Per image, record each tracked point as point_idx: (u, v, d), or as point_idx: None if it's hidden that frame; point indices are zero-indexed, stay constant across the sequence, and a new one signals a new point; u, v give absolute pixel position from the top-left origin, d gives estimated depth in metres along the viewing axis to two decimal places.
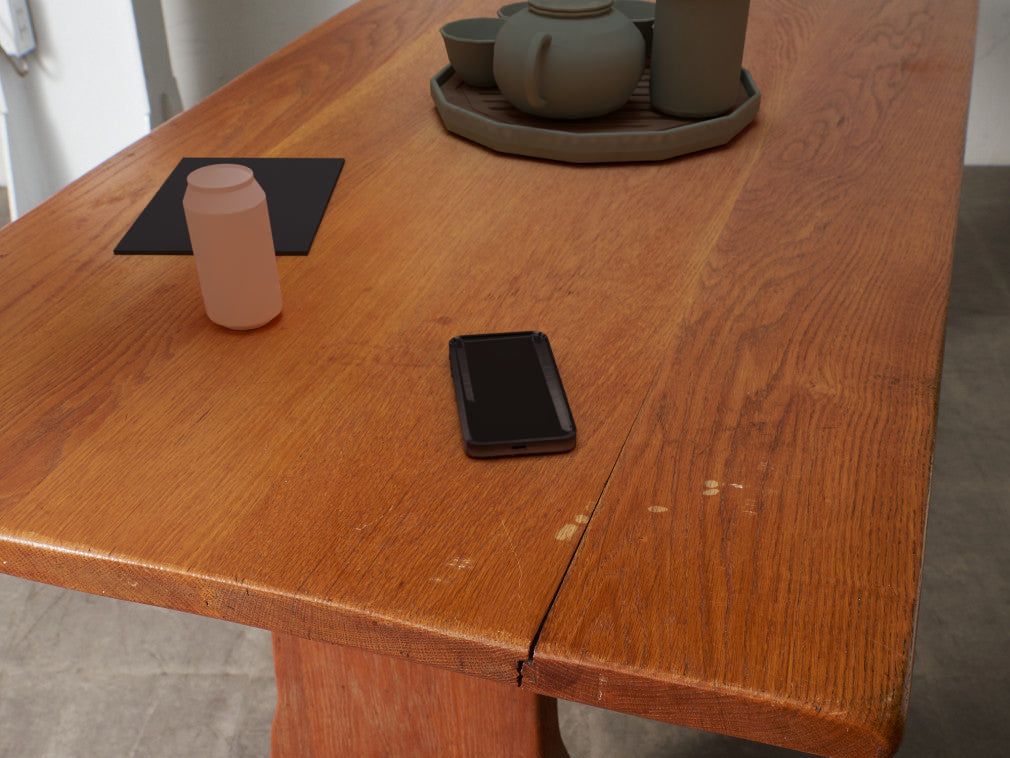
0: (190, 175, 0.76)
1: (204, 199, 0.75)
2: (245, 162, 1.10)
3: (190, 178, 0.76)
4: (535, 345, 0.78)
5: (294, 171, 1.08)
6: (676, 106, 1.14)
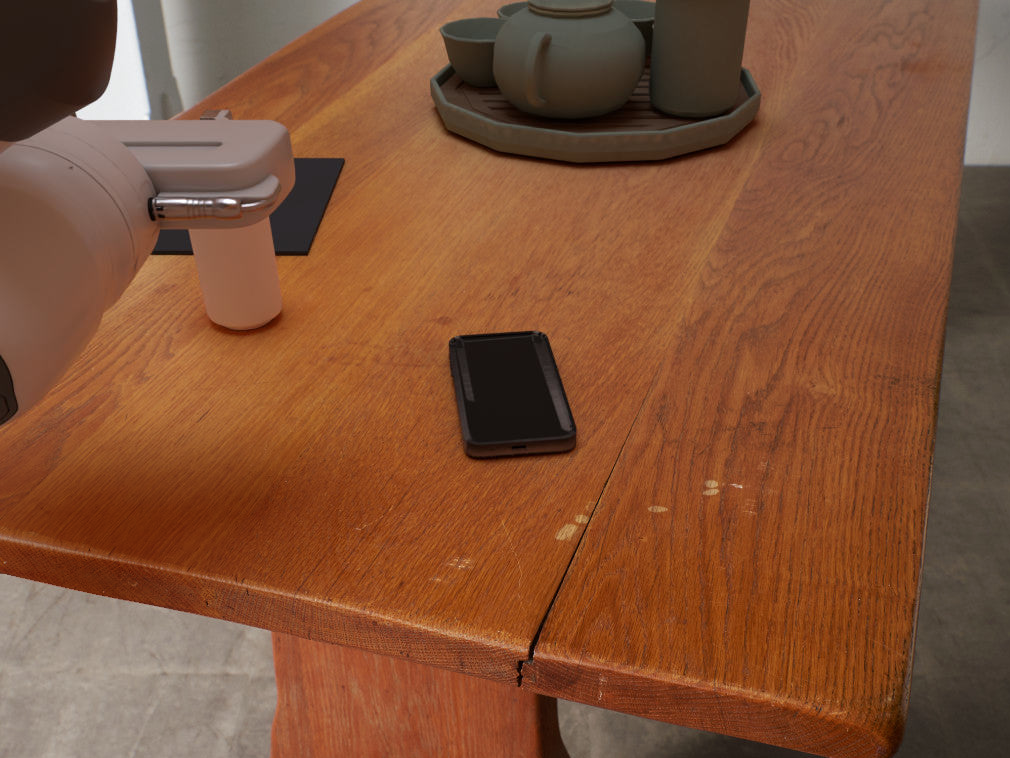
0: None
1: None
2: None
3: None
4: (535, 345, 0.78)
5: None
6: (676, 106, 1.14)
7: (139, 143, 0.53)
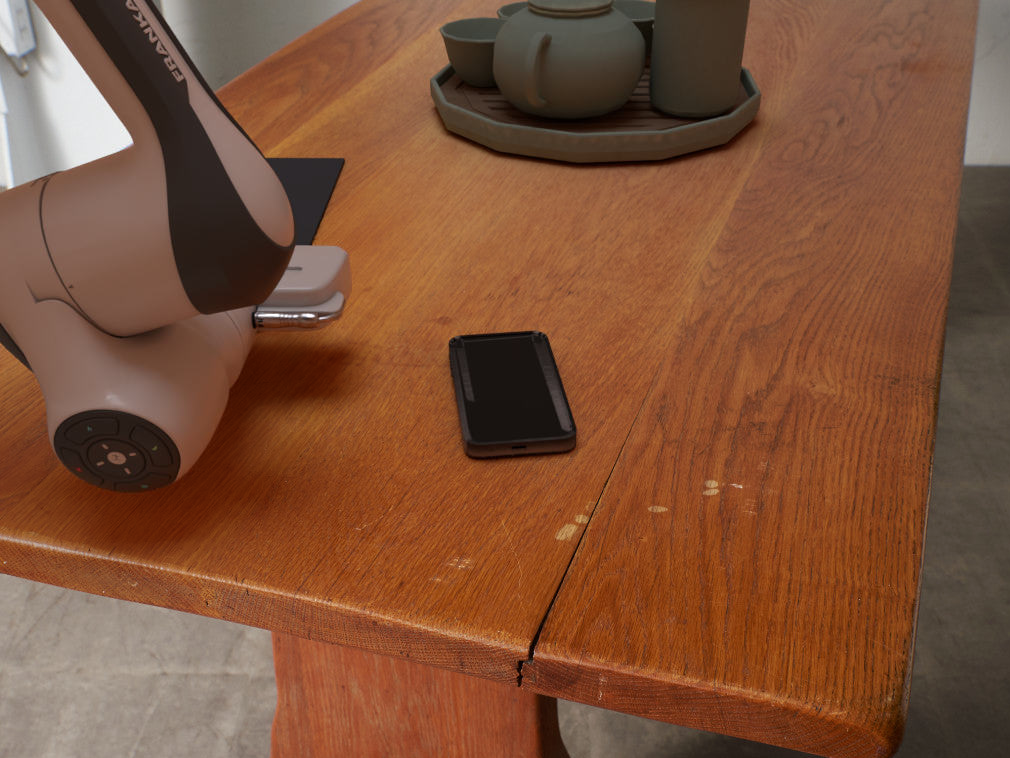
0: None
1: None
2: None
3: None
4: (535, 345, 0.78)
5: (294, 171, 1.08)
6: (676, 106, 1.14)
7: None
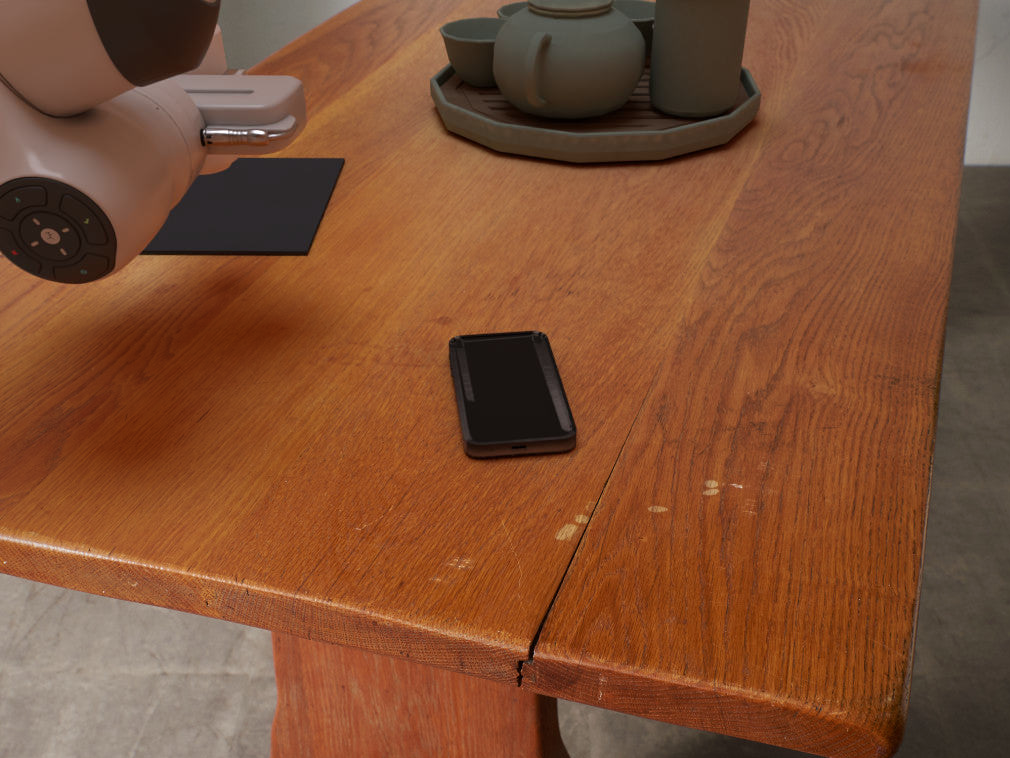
0: None
1: None
2: (245, 162, 1.10)
3: None
4: (535, 345, 0.78)
5: (294, 171, 1.08)
6: (676, 106, 1.14)
7: (191, 90, 0.72)
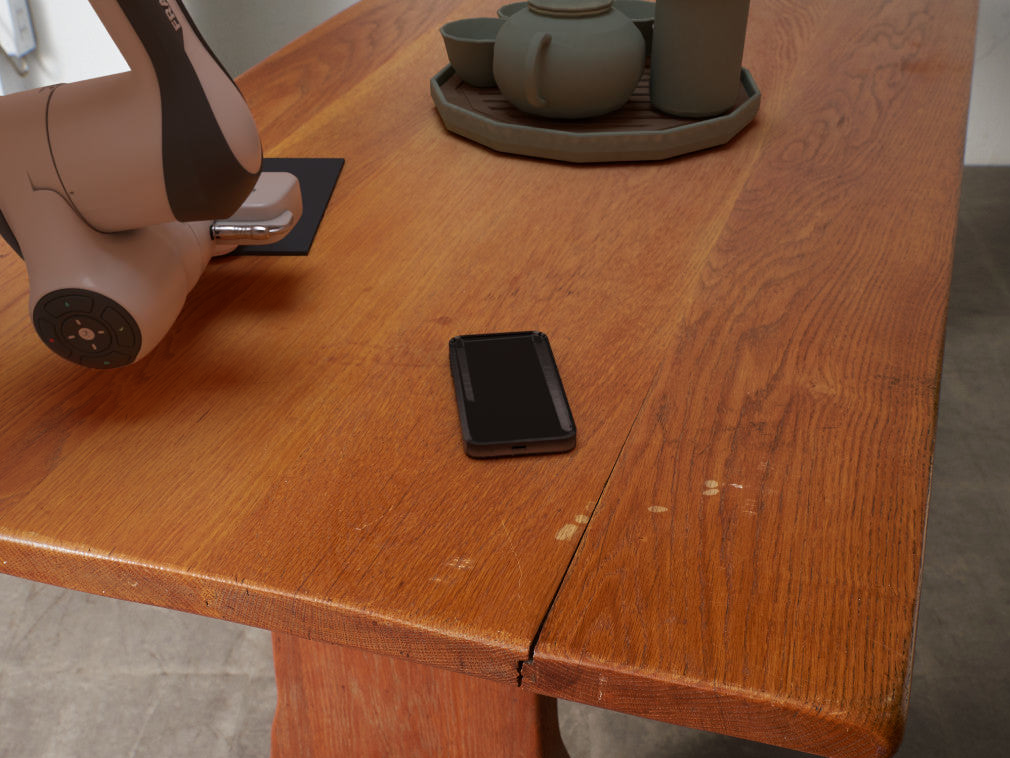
0: None
1: None
2: None
3: None
4: (535, 345, 0.78)
5: (294, 171, 1.08)
6: (676, 106, 1.14)
7: None
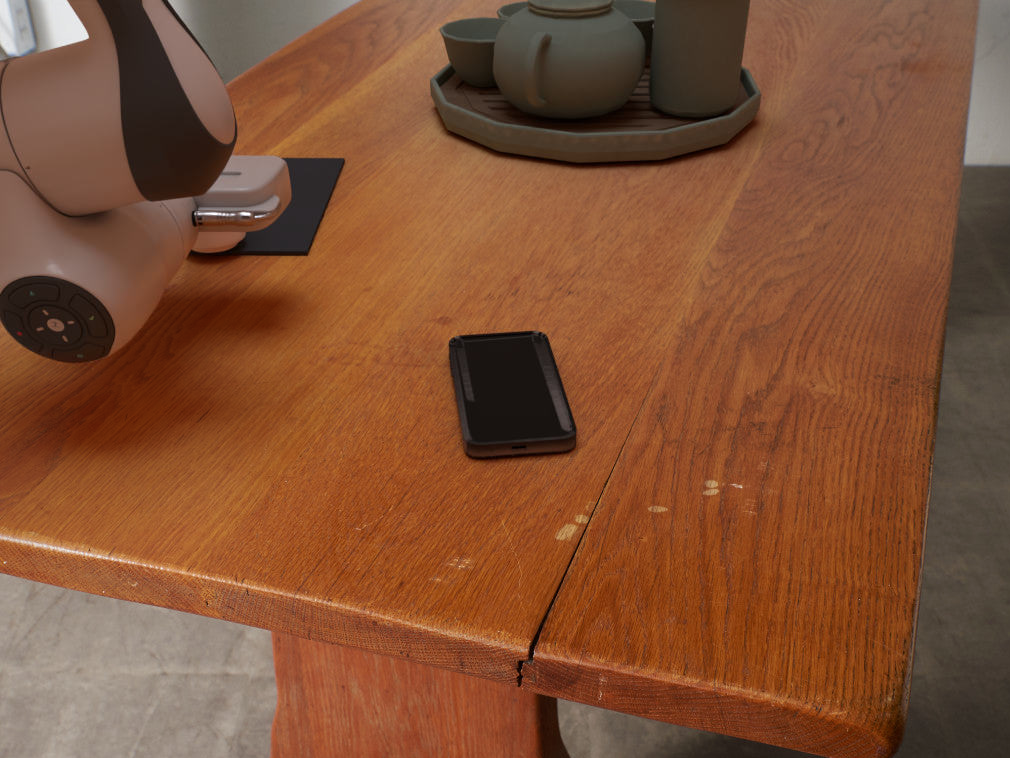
0: None
1: None
2: None
3: None
4: (535, 345, 0.78)
5: (294, 171, 1.08)
6: (676, 106, 1.14)
7: None
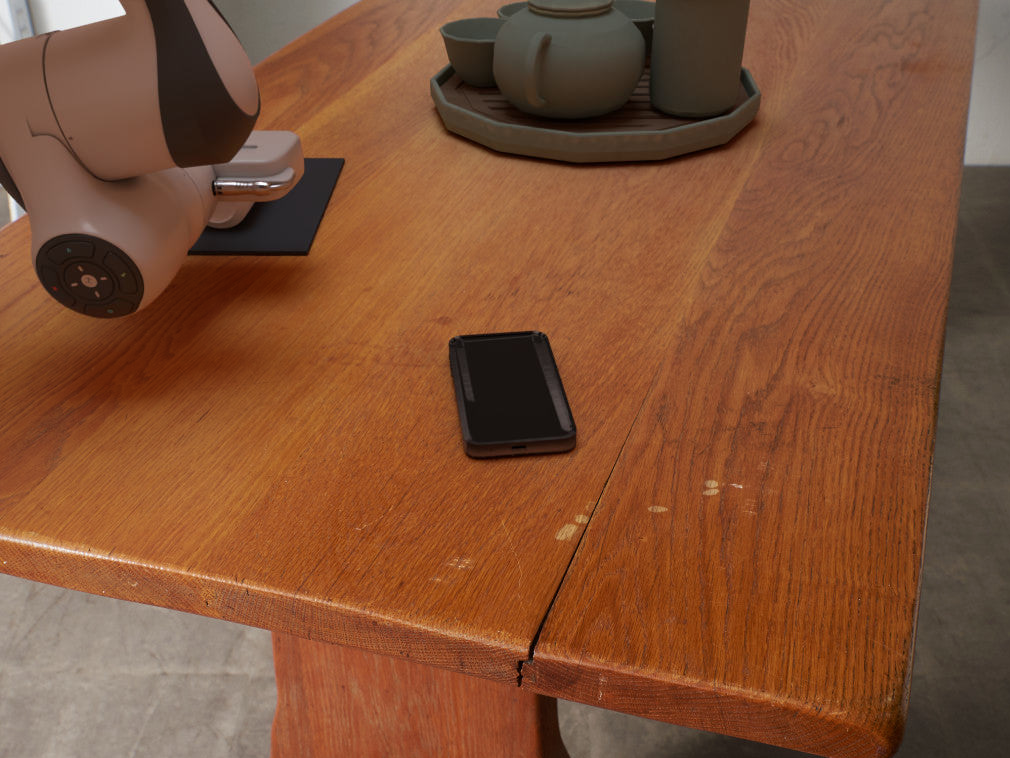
0: None
1: None
2: None
3: None
4: (535, 345, 0.78)
5: None
6: (676, 106, 1.14)
7: None
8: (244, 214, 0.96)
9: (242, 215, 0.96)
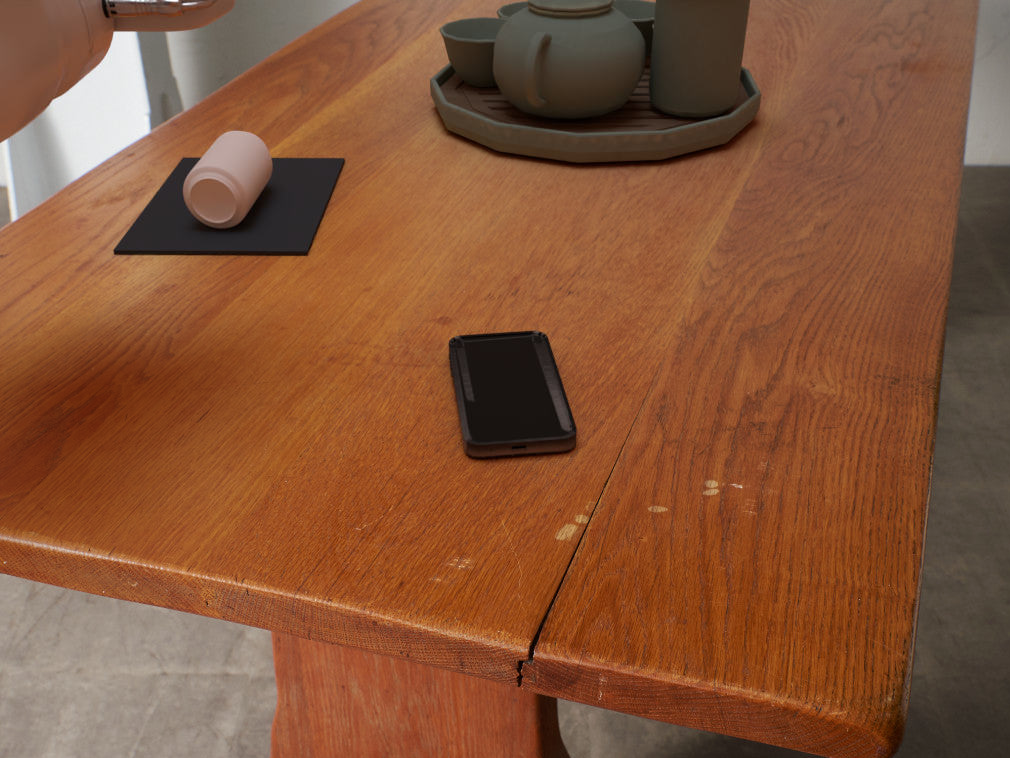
0: None
1: None
2: None
3: None
4: (535, 345, 0.78)
5: (294, 171, 1.08)
6: (676, 106, 1.14)
7: None
8: (244, 214, 0.96)
9: (242, 215, 0.96)
